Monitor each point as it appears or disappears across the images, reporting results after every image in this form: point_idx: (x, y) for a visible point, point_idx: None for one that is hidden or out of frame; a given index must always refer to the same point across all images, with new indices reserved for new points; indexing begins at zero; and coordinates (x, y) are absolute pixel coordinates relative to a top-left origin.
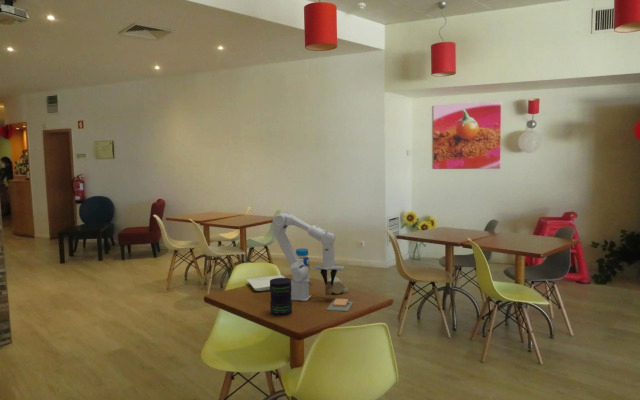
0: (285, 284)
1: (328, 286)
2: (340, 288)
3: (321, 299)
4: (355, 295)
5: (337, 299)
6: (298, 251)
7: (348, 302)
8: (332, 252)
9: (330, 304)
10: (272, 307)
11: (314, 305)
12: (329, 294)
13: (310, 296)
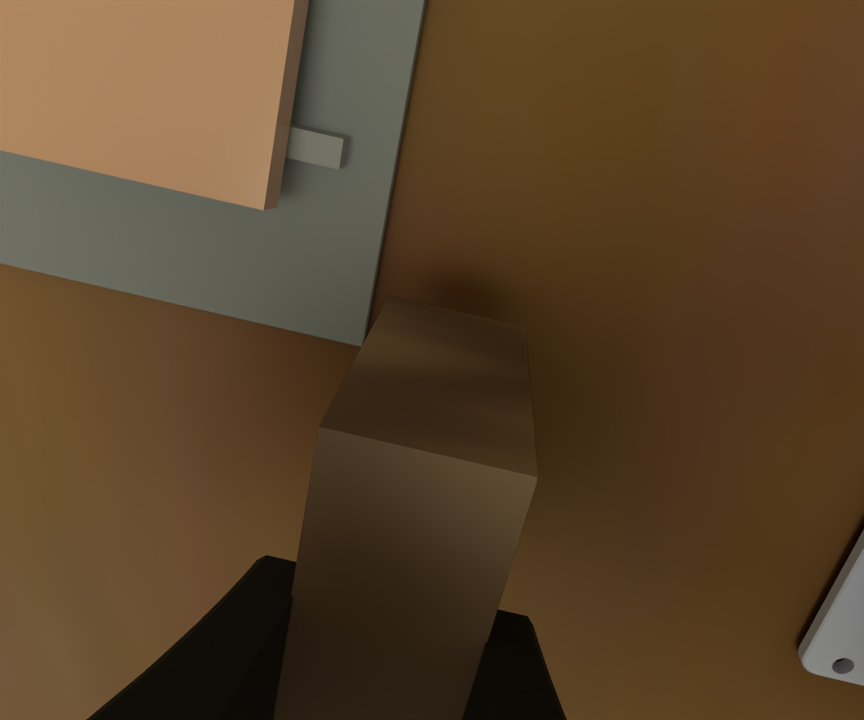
0: None
1: (399, 412)
2: None
3: (600, 473)
4: (5, 621)
5: (214, 145)
6: None
7: (20, 182)
8: None
9: (408, 41)
10: None
11: (811, 48)
12: (409, 304)
13: (817, 623)
